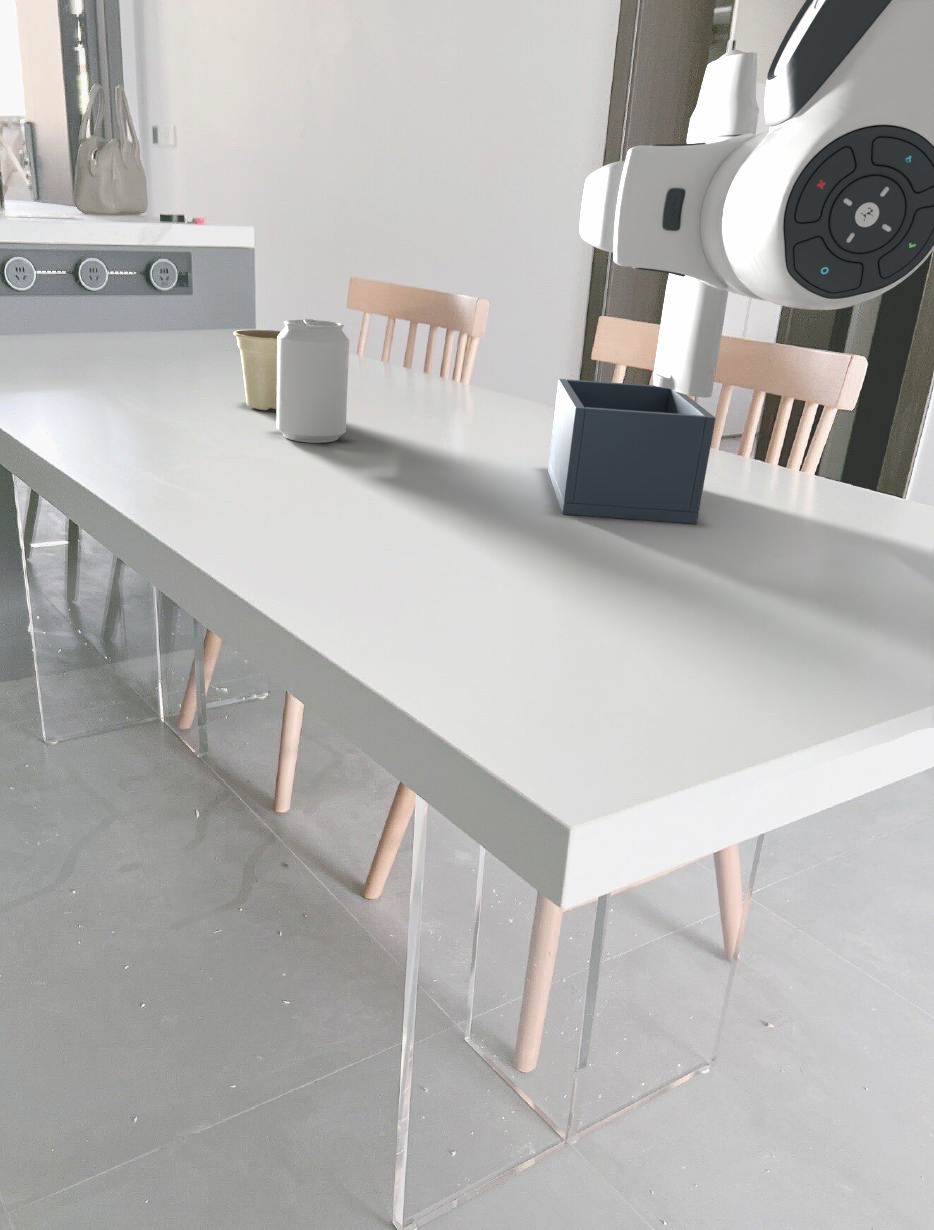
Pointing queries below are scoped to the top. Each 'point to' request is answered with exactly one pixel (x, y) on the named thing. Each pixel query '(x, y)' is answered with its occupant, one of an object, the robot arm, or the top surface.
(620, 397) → the bin
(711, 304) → the tall pale column
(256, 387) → the flower pot
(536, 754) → the top surface
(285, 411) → the can
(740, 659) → the top surface
